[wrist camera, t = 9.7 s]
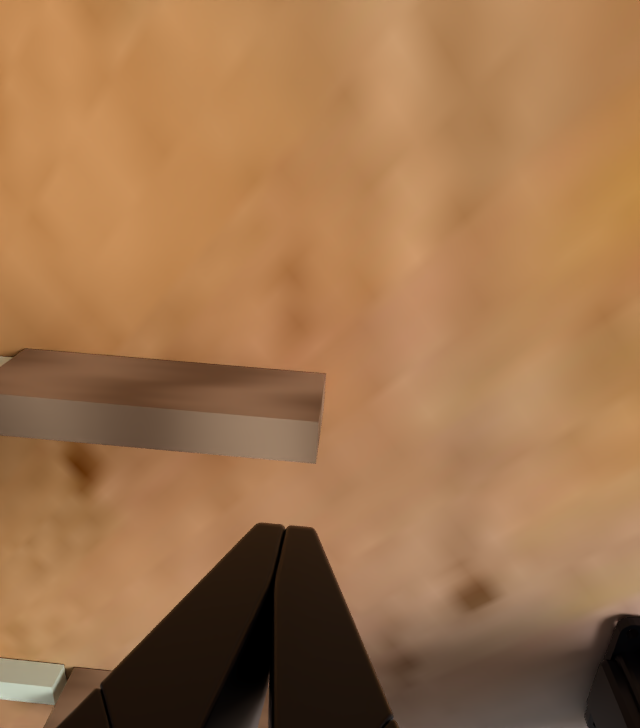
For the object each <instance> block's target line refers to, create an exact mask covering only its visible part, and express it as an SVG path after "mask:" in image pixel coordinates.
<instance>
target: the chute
mask: <svg viewBox="0 0 640 728" xmlns="http://www.w3.org/2000/svg"><path fill="white" fill-rule="evenodd" d="M325 379H326V374H323V373H311V372H299V371H287V370H275V369H263V368H251V367H239V366H227V365H215V364H203V363H192V362H180V361H168V360H156V359H144V358H132V357H120V356H108V355H96V354H84V353H72V352H60V351H48V350H36V349H24V350H22V351H21V352H20V353H18V354H17V355H16V356H14V357H13V358H12V359H10V360H9V361H7V362H6V363H5V364H3V365H2V366H1V367H0V435H2V436H13V437H24V438H36V439H47V440H58V441H69V442H80V443H91V444H102V445H113V446H124V447H135V448H146V449H157V450H169V451H180V452H191V453H202V454H213V455H224V456H235V457H246V458H257V459H268V460H279V461H291V462H302V463H313V464H316V459H317V452H318V445H319V438H320V431H321V424H322V416H323V408H324V393H325ZM111 672H112V671H104V670H95V669H85V668H76V667H74V669H73V671H72V673H71V675H70V677H69V679H68V681H67V683H66V685H65V687H64V689H63V690H62V692H61V694H60V696H59V698H58V700H57V702H56V704H55V706H54V708H53V710H52V712H51V714H50V716H49V718H48V720H47V722H46V724H45V725H44V727H43V728H56V727H57V726H58V725H59V724H60V723H61V722H62V721H63V720H64V719H65V718H66V717H67V716H68V715H69V714H70V713H71V712H72V711H73V710H74V709H75V708H76V707H77V706H78V705H79V704H80V703H81V702H82V701H83V700H84V699H85V698H86V697H87V696H88V695H89V694H90V693H91V692H92V691H93V690H94V689H95V688H99V689H100V684H101V682H102V681H103V680H104V679H105V678H106V677H107V676H108V675H109V674H110V673H111ZM268 703H269V688H267V692H266V697H265V701H264V705H263V709H262V713H261V717H260V720H259V724H258V728H268Z"/></svg>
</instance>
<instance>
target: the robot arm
mask: <svg viewBox="0 0 640 728" xmlns="http://www.w3.org/2000/svg"><path fill="white" fill-rule="evenodd" d="M629 630H630V631H629ZM268 683H269V703H268V728H399V727H398V724H397V722H396V721H395V720H393V713H392V711H391V708H390V706H389V704H388V701H387V699H386V697H385V694H384V692H383V689H382V687H381V685H380V682H379V680H378V678H377V675H376V673H375V670H374V668H373V666H372V663H371V661H370V659H369V656H368V654H367V651H366V649H365V647H364V644H363V642H362V640H361V637H360V635H359V632H358V630H357V628H356V625H355V623H354V621H353V618H352V616H351V613H350V611H349V609H348V606H347V604H346V602H345V599H344V597H343V594H342V592H341V590H340V587H339V585H338V582H337V580H336V578H335V575H334V573H333V571H332V568H331V566H330V563H329V561H328V559H327V556H326V554H325V552H324V549H323V547H322V544H321V542H320V540H319V537H318V535H317V533H316V531H315V529H313V528H311V527H303V526H292V525H291V526H288V527H287V528H286V530H285V527H284V526H283V525H281V524H271V523H258V524H256V525H255V526H254V527H253V528H252V529H251V530H250V531H249V532H248V533H247V534H246V535H245V536H244V537H243V538H242V539H241V540H240V541H239V542H238V543H237V544H236V545H235V546H234V547H233V548H232V549H231V550H230V551H229V552H228V553H227V554H226V555H225V556H224V557H223V558H222V559H221V560H220V561H219V562H218V563H217V565H216V566H215V567H214V568H213V569H212V570H211V571H210V572H209V573H208V574H207V575H206V576H205V577H204V578H203V579H202V580H201V581H200V582H199V583H198V584H197V585H196V586H195V587H194V588H193V589H192V590H191V591H190V592H189V593H188V594H187V595H186V596H185V597H184V598H183V599H182V600H181V601H180V602H179V603H178V604H177V605H176V606H175V607H174V609H173V610H172V611H171V612H170V613H169V614H168V615H167V616H166V617H165V618H164V619H163V620H162V621H161V622H160V623H159V624H158V625H157V626H156V627H155V628H154V629H153V630H152V631H151V632H150V633H149V634H148V635H147V636H146V637H145V638H144V639H143V640H142V641H141V642H140V643H139V644H138V645H137V646H136V647H135V648H134V649H133V650H132V651H131V653H130V654H129V655H128V656H127V657H126V658H125V659H124V660H123V661H122V662H121V663H120V664H119V665H118V666H117V667H116V668H115V669H114V670H113V671H112V672H111V673H110V674H109V675H108V676H107V677H106V678H105V679H104V680H103V681H102V682H101V684H100V689H99V688H95V689H94V690H93V691H92V692H91V693H90V694H89V695H88V696H87V697H86V698H85V699H84V700H83V701H82V702H81V703H80V704H79V705H78V706H77V707H76V708H75V709H74V710H73V711H72V712H71V713H70V714H69V715H68V716H67V717H66V718H65V719H64V720H63V721H62V722H61V723H60V724H59V725H58V726H57V727H56V728H258V724H259V720H260V717H261V713H262V709H263V705H264V701H265V697H266V692H267V688H268ZM587 704H588V706H587V709H586V711H585V715H584V717H585V720H586V723H587V726H588V727H589V728H640V618H634V617H627V618H624V619H621V620H620V621H619V622H618V623H617V625H616V627H615V630H614V633H613V636H612V638H611V641H610V644H609V647H608V650H607V652H606V655H605V658H604V660H603V661H602V662H601V664H600V666H599V668H598V671H597V674H596V677H595V680H594V682H593V685H592V688H591V691H590V694H589V697H588V699H587Z"/></svg>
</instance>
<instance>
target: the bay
mask: <svg viewBox="0 0 640 728" xmlns="http://www.w3.org/2000/svg"><path fill="white" fill-rule="evenodd" d="M12 358H13V357H2V356H0V367H1V366H2V365H3V364H5V363H6V362H7V361H9V360H10V359H12ZM66 683H67V681H66V674H65V668H64V665H61V664H52V663H42V662H33V661H24V660H14V659H5V658H0V699H3V700H13V701H22V702H31V703H40V704H49V705H55V704H56V702H57V700H58V698H59V696H60V694H61V692H62V690H63V689H64V687H65V685H66Z"/></svg>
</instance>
